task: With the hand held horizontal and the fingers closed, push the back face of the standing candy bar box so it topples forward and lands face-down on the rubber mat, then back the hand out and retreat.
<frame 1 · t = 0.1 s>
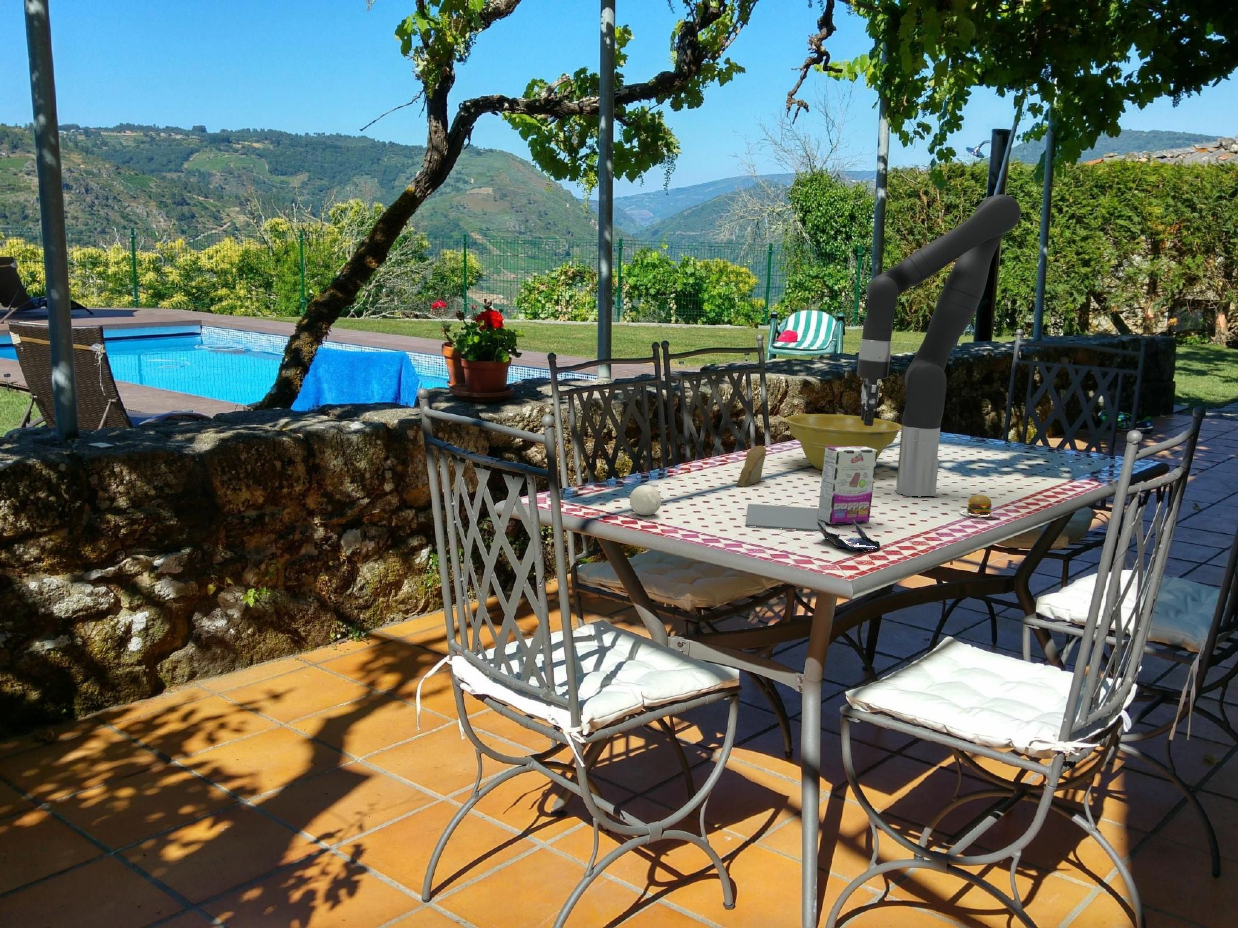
hand: (866, 423, 258), 17 cm above the table, tool pointing down, fingers open, 8 cm apart
hamburger: (979, 519, 239), on the table
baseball: (645, 516, 228), on the table
candy bar box: (842, 521, 228), on the table, touching mat
mat: (785, 518, 229), on the table
snack package: (848, 548, 208), on the table
planter bowl: (839, 469, 289), on the table
rock: (746, 484, 266), on the table
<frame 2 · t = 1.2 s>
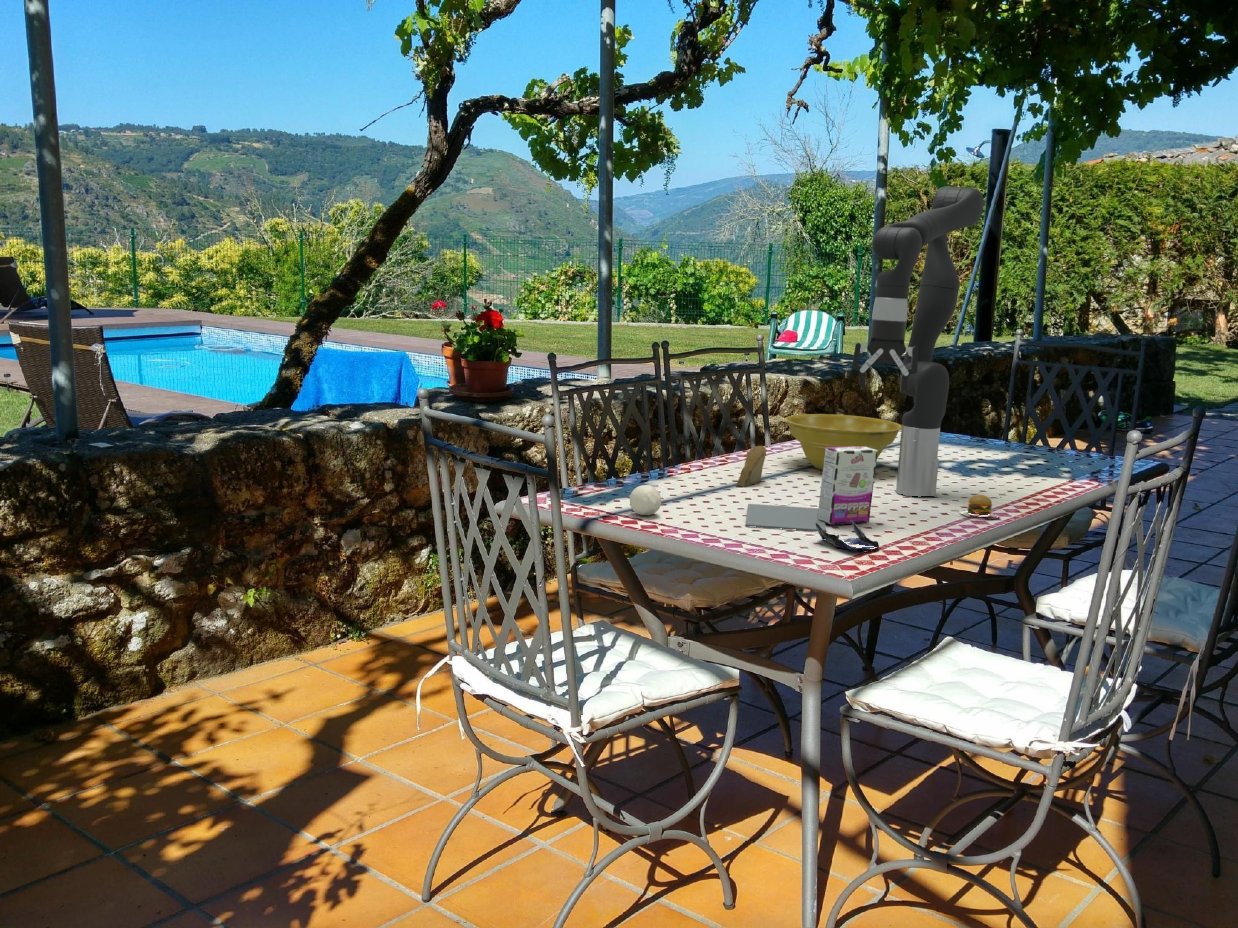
hand: (882, 390, 234), 28 cm above the table, tool pointing down, fingers open, 8 cm apart
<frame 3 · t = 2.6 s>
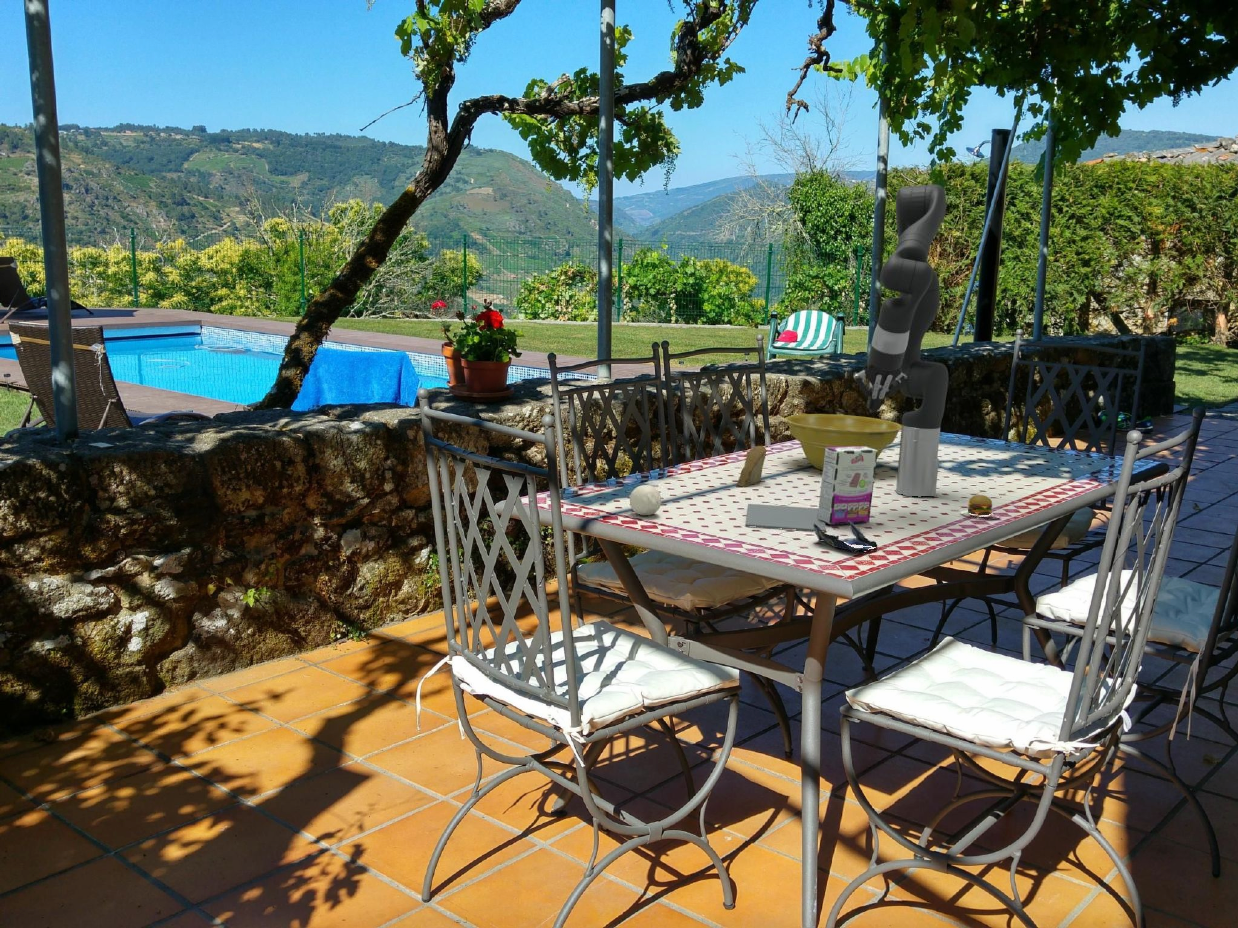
hand: (872, 410, 239), 23 cm above the table, tool tilted 25°, fingers closed
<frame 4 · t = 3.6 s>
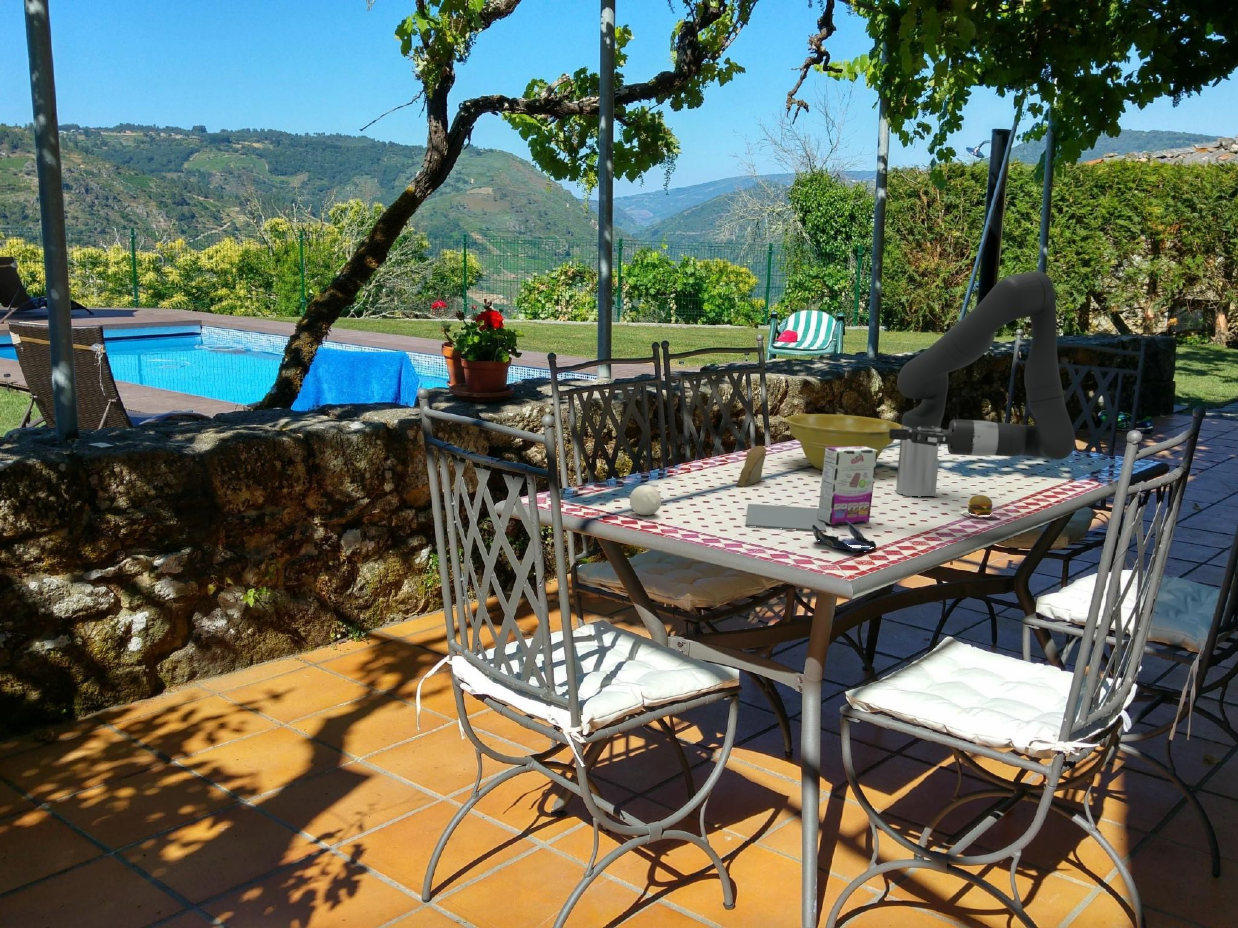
hand: (889, 433, 223), 20 cm above the table, tool horizontal, fingers closed
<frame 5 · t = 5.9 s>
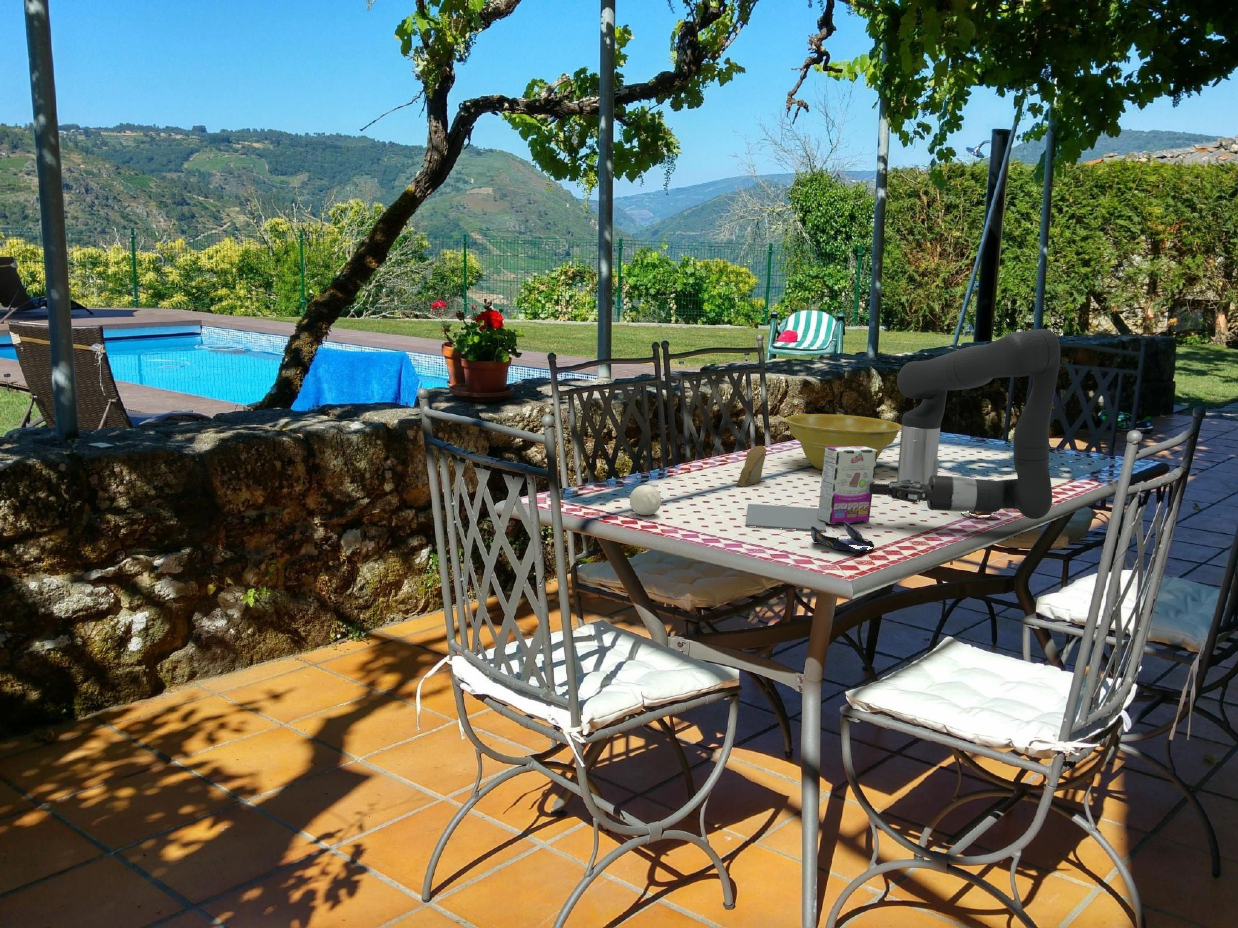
hand: (869, 488, 225), 8 cm above the table, tool horizontal, fingers closed
candy bar box: (842, 521, 228), on the table, touching gripper, mat
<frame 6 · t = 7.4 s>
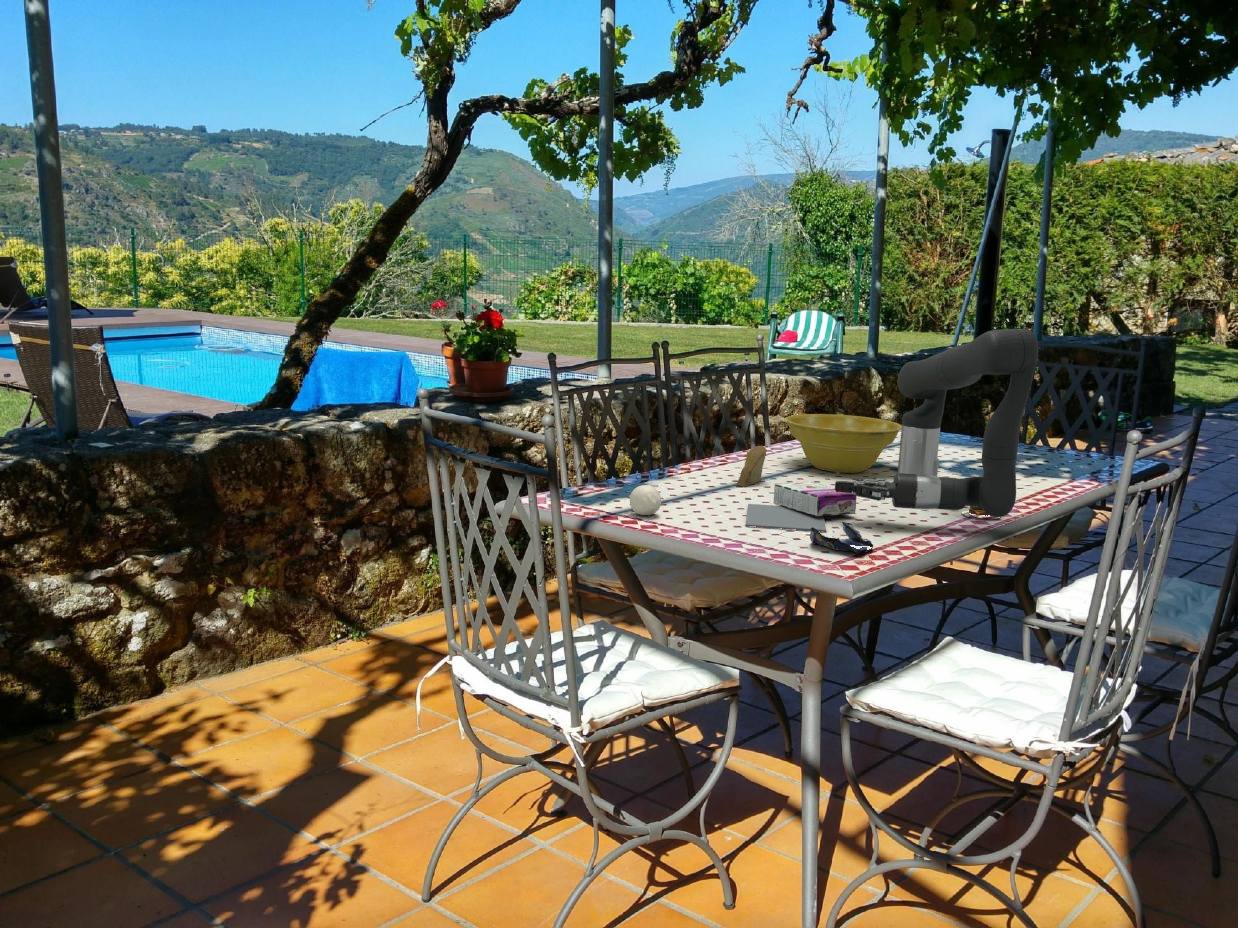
hand: (835, 486, 226), 8 cm above the table, tool horizontal, fingers closed
candy bar box: (837, 505, 229), point 3 cm above the table, touching mat
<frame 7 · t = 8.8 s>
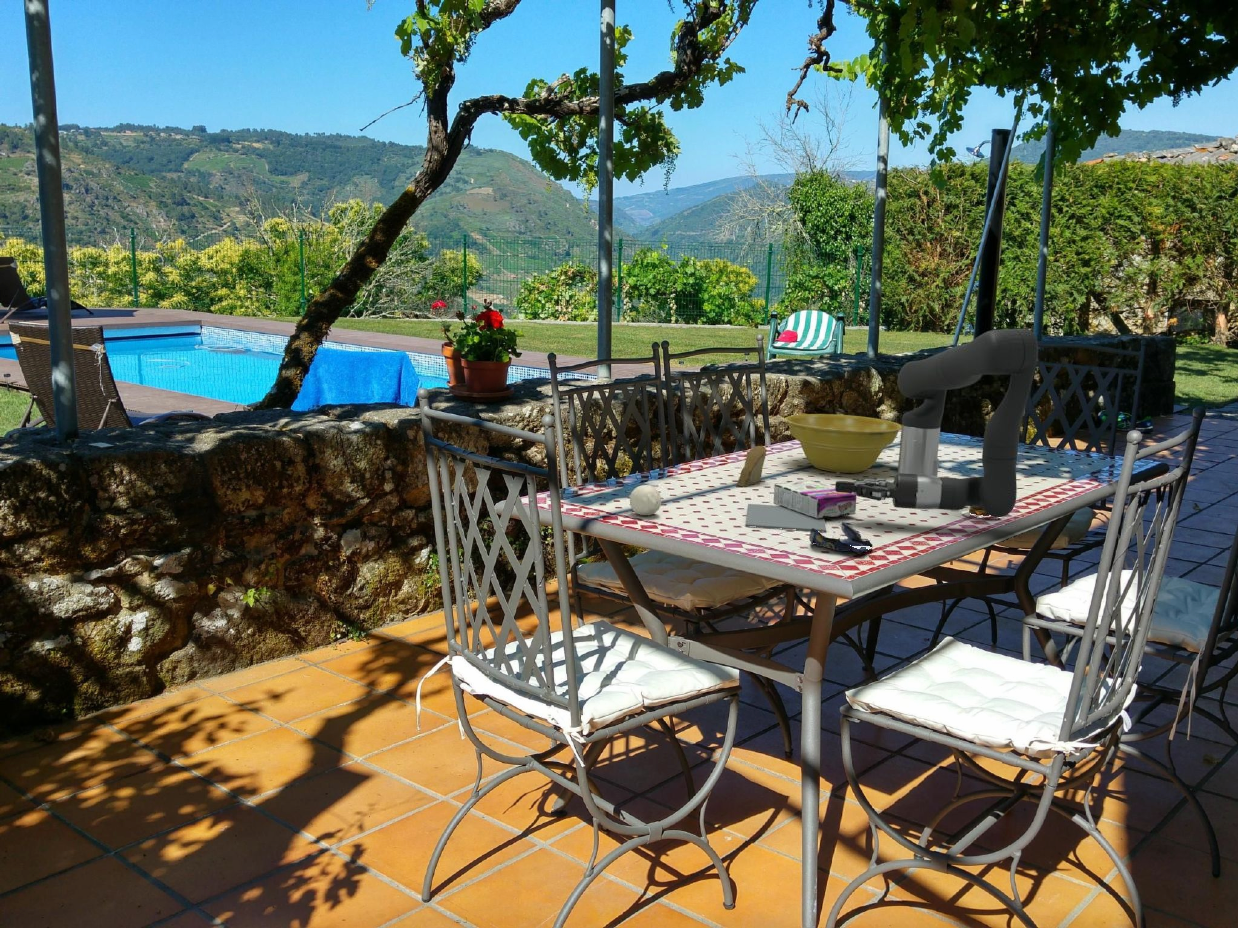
hand: (835, 486, 226), 8 cm above the table, tool horizontal, fingers closed
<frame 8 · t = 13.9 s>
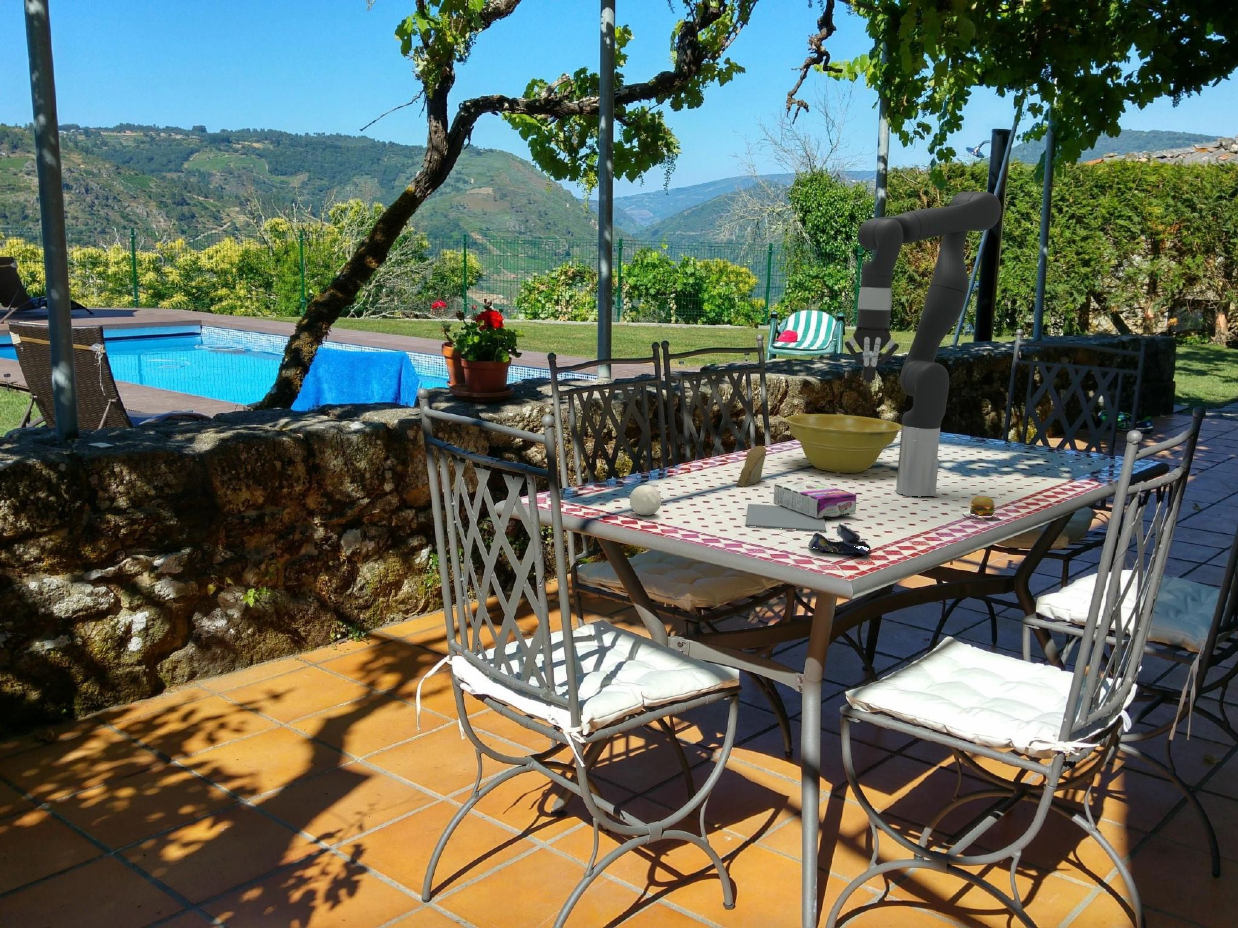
hand: (868, 382, 242), 29 cm above the table, tool pointing down, fingers closed
snack package: (842, 554, 204), on the table
at the end: candy bar box tilted 90°; candy bar box inside the target area (9.9 cm from its centre), point 2.9 cm above the table; the gripper is holding nothing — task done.
